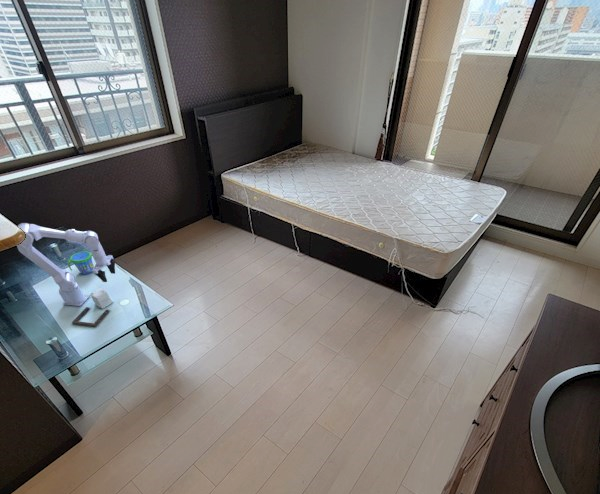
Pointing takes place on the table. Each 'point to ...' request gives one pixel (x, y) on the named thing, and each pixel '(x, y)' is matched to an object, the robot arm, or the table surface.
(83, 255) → the snack cup
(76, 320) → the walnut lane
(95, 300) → the white cardboard box
